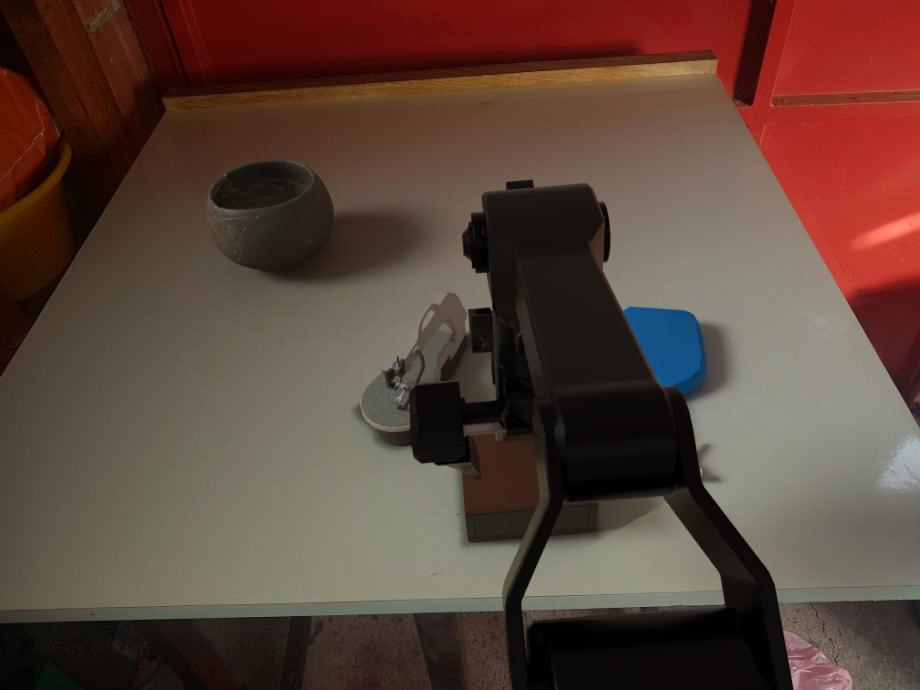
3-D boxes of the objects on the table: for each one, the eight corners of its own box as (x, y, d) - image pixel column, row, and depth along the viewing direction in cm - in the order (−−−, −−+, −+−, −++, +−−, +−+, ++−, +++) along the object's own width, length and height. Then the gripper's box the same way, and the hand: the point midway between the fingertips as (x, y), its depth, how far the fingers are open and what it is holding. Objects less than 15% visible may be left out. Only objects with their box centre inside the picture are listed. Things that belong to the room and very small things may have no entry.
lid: (459, 429, 73) (455, 396, 69) (579, 419, 73) (581, 385, 69) (465, 515, 65) (461, 482, 62) (598, 503, 65) (602, 470, 61)
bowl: (211, 246, 109) (183, 174, 101) (318, 210, 115) (301, 139, 106) (241, 308, 98) (213, 232, 89) (359, 264, 103) (343, 190, 94)
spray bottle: (614, 303, 88) (608, 459, 71) (704, 308, 86) (719, 471, 69) (613, 320, 90) (605, 476, 73) (700, 326, 88) (713, 488, 71)
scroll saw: (408, 262, 85) (495, 280, 81) (417, 326, 92) (498, 345, 88) (323, 373, 72) (422, 401, 68) (341, 437, 79) (432, 465, 75)
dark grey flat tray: (462, 463, 75) (459, 435, 72) (578, 453, 75) (580, 425, 72) (468, 542, 68) (465, 515, 65) (595, 531, 68) (598, 504, 65)
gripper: (643, 257, 52) (620, 384, 64) (398, 280, 53) (420, 403, 64) (685, 370, 45) (651, 491, 57) (399, 397, 45) (424, 512, 57)
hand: (532, 469), depth 59 cm, fingers open, 9 cm apart
